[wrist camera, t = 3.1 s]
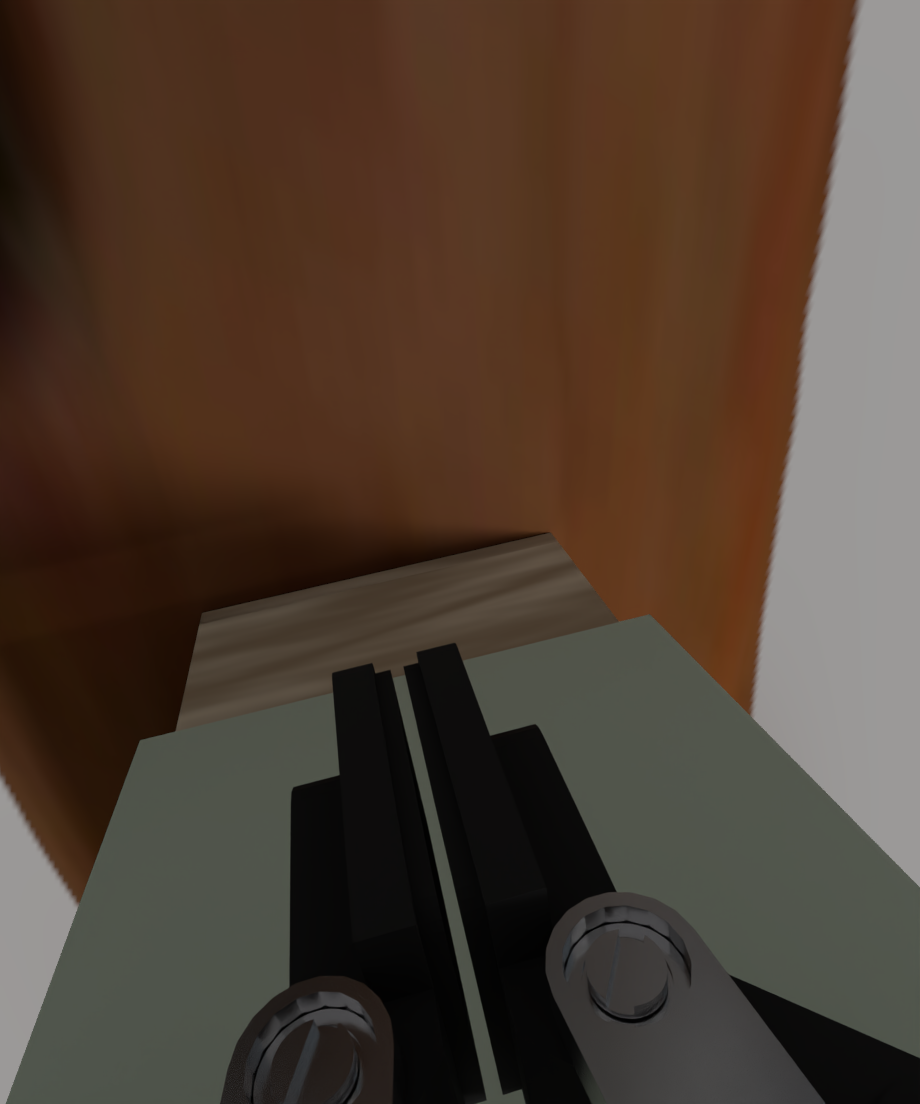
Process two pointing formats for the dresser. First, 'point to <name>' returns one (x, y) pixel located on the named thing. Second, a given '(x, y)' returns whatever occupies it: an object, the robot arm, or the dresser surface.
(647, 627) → the lid
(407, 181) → the dresser surface
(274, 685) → the box
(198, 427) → the dresser surface
